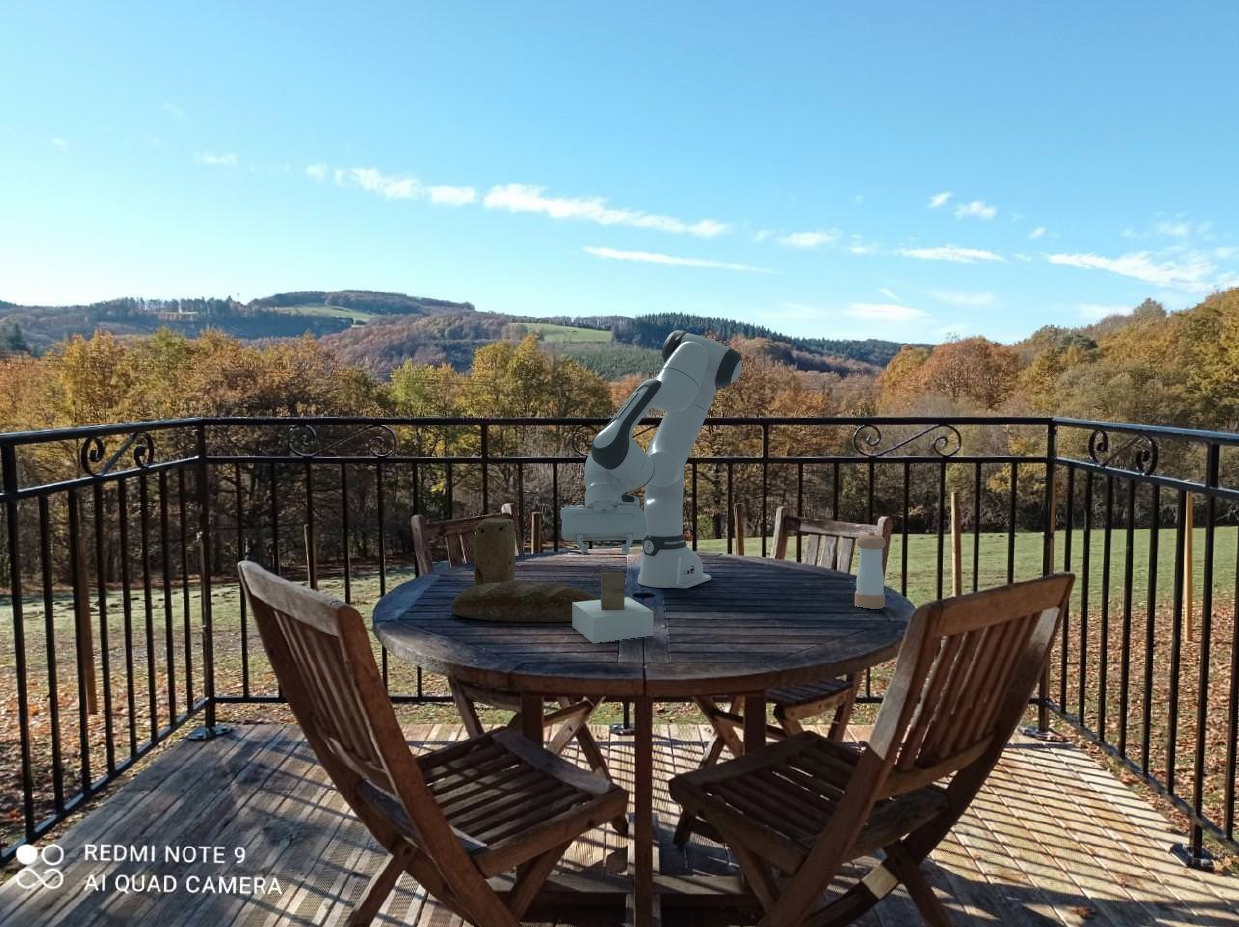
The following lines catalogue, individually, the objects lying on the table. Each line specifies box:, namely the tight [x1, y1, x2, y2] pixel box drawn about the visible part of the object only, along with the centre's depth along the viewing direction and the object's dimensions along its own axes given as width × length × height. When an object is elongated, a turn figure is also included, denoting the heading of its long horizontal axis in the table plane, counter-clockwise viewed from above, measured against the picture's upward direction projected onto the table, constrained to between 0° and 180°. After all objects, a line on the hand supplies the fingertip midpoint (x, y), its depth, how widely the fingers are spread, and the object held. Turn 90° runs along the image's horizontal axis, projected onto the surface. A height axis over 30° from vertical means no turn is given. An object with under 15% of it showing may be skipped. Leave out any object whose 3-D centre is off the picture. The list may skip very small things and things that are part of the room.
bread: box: [451, 580, 599, 623], centre depth 190 cm, size 16×36×8 cm, turn 85°
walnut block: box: [600, 568, 625, 610], centre depth 175 cm, size 5×5×8 cm
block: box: [473, 517, 516, 586], centre depth 212 cm, size 11×8×20 cm
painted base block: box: [571, 596, 654, 644], centre depth 176 cm, size 14×14×6 cm
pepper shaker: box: [854, 530, 887, 609], centre depth 198 cm, size 7×7×19 cm
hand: (605, 553), depth 182 cm, fingers open, 8 cm apart
